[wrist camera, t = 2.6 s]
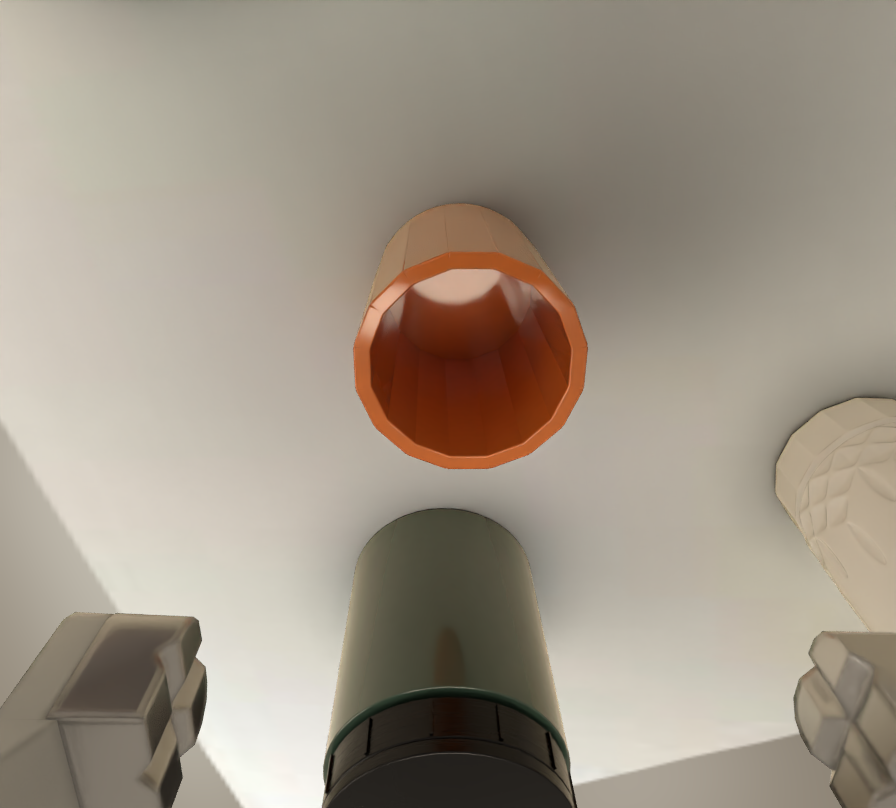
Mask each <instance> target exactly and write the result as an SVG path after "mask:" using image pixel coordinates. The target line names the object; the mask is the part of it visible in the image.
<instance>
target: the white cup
mask: <svg viewBox="0 0 896 808" xmlns="http://www.w3.org/2000/svg"><path fill="white" fill-rule="evenodd" d="M775 494H776V496H777V497H778V499H779V501H780V502H781V504H782V506H783V507H784V509H785V510H786V512H787V514H788V515H789V517H790V518H791V520H792V521H793V522H794V524H795V525H796V526H797V528H798V529H799V530H800V531H801V533H802V534H803V535H804V537H805V541H806V544H807V545H808V547H809V548H810V550H811V551H812V553H813V554H814V555H815V556H816V558H817V559H818V560H819V562H820V564H821V565H822V567H823V569H824V570H825V571H826V573H827V574H828V575H829V577H830V578H831V579H832V581H833V582H834V583H835V584H836V586H837V588H838V589H839V591H840V593H841V594H842V596H843V597H844V598H845V600H846V601H847V602H848V604H849V605H850V606H851V608H852V609H853V610H854V612H855V613H856V614H857V616H858V617H859V618H860V620H861V621H862V622H863V624H864V625H865V626H866V628H867V629H868V630H869V632H892V633H896V400H894V399H881V398H854V399H852V400H849V401H846V402H843V403H841V404H838V405H835V406H832V407H830V408H827V409H824V410H822V411H820V412H819V413H817V414H816V415H815V416H814V417H813V418H811V419H810V420H809V421H808V422H807V423H805V424H804V425H803V426H802V427H801V428H799V429H798V430H797V431H796V432H795V433H793V434H792V436H791V437H790V439H789V441H788V443H787V445H786V447H785V449H784V450H783V452H782V454H781V456H780V458H779V460H778V461H777V463H776V482H775Z"/></svg>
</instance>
